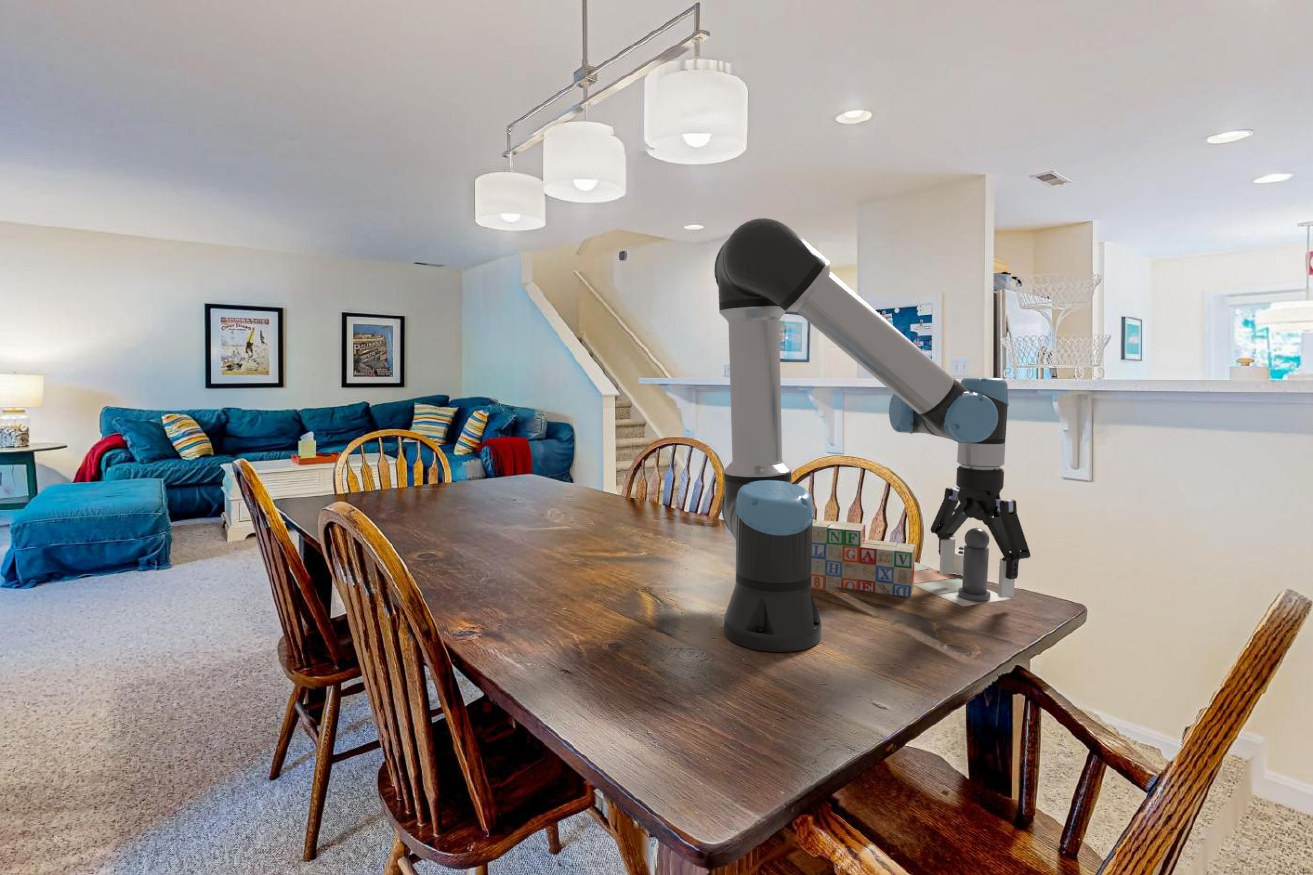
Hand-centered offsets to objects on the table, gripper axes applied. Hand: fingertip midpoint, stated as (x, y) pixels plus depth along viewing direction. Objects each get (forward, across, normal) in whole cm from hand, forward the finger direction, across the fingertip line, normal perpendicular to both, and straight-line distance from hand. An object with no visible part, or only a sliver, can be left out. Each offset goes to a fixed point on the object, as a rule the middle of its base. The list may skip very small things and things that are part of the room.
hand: (974, 584), depth 124 cm
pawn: (+2, 0, 0) cm, 2 cm away
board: (+3, +10, 0) cm, 10 cm away
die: (+3, +14, -10) cm, 17 cm away
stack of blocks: (+4, +14, +16) cm, 21 cm away
